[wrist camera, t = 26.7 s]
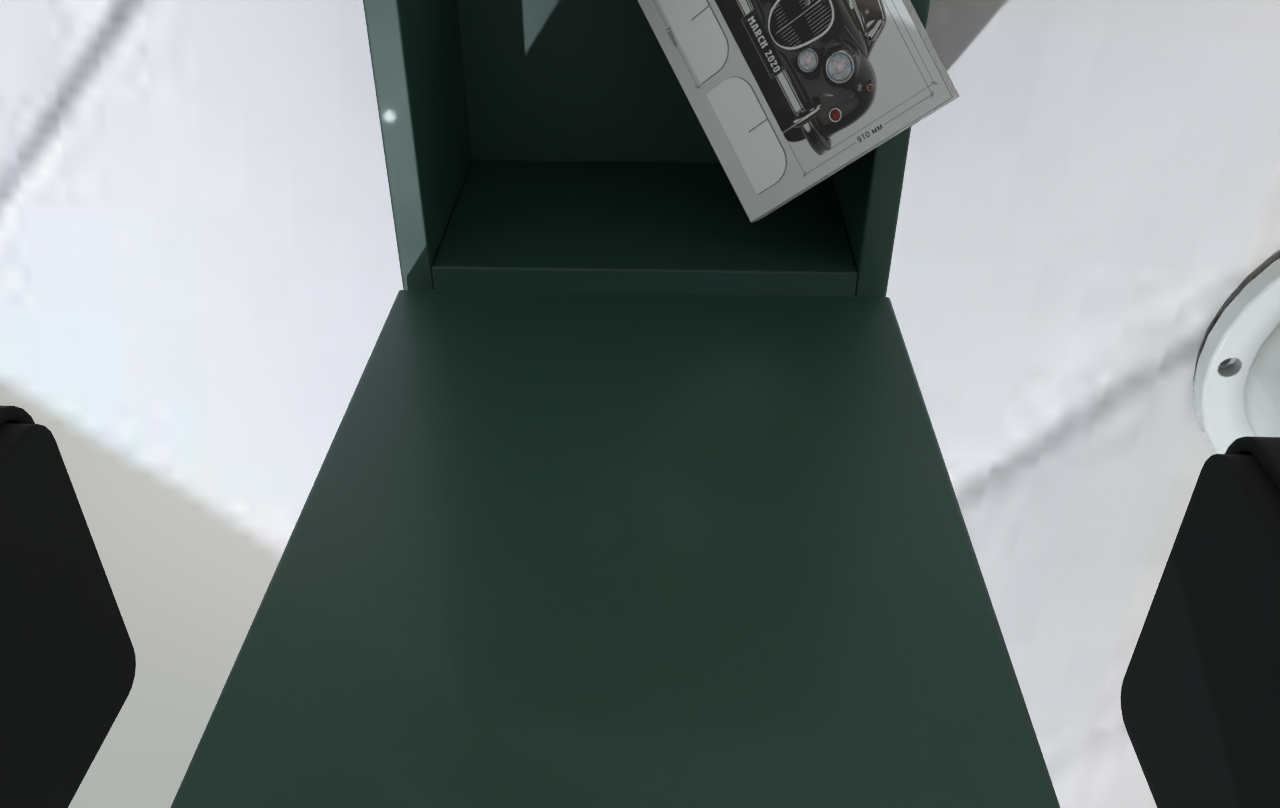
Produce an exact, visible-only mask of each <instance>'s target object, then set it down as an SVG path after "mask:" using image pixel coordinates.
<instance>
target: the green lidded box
mask: <svg viewBox="0 0 1280 808" xmlns="http://www.w3.org/2000/svg"><path fill="white" fill-rule="evenodd" d="M910 1H911V3H912V5H913V7H914V9H915V11H916V13H917V15H918V17H919V19H920V21H921V23H922V24H923V26H924V28H925V30H926V23H927V16H928V10H929V3H930V0H910ZM363 3H364V11H365V18H366V25H367V32H368V39H369V46H370V53H371V61H372V68H373V75H374V82H375V89H376V96H377V103H378V111H379V118H380V125H381V132H382V139H383V146H384V153H385V161H386V168H387V175H388V182H389V189H390V196H391V203H392V211H393V218H394V225H395V232H396V239H397V246H398V253H399V261H400V268H401V275H402V282H403V289H404V290H433V291H501V292H569V293H636V294H704V295H772V296H840V297H886V292H887V285H888V278H889V272H890V265H891V258H892V252H893V245H894V238H895V231H896V225H897V218H898V211H899V204H900V198H901V191H902V184H903V178H904V171H905V164H906V157H907V151H908V144H909V137H910V131H911V127H909V128H907V129H906V130H904V131H902V132H901V133H899V134H898V135H896V136H894V137H893V138H891V139H889V140H888V141H886V142H885V143H883V144H881V145H880V146H878V147H877V148H875V149H873V150H872V151H870V152H868V153H867V154H865V155H864V156H862V157H860V158H859V159H857V160H856V161H854V162H852V163H851V164H849V165H847V166H846V167H844V168H843V169H841V170H839V171H838V172H836V173H834V174H833V175H831V176H830V177H828V178H826V179H825V180H823V181H822V182H820V183H818V184H817V185H815V186H813V187H812V188H810V189H809V190H807V191H805V192H804V193H802V194H801V195H799V196H797V197H796V198H794V199H792V200H791V201H789V202H788V203H786V204H784V205H783V206H781V207H779V208H778V209H776V210H775V211H773V212H771V213H770V214H768V215H767V216H765V217H763V218H762V219H760V220H758V221H755V222H752V223H751V222H750V220H749V218H748V217H747V215H746V213H745V211H744V209H743V207H742V205H741V203H740V201H739V199H738V197H737V195H736V193H735V191H734V189H733V187H732V185H731V183H730V181H729V179H728V177H727V175H726V173H725V172H724V170H723V168H722V166H721V164H720V162H719V160H718V158H717V156H716V154H715V152H714V150H713V148H712V146H711V144H710V142H709V140H708V138H707V136H706V134H705V132H704V130H703V128H702V127H701V125H700V123H699V121H698V119H697V117H696V115H695V113H694V111H693V109H692V107H691V105H690V103H689V101H688V99H687V97H686V95H685V93H684V91H683V89H682V87H681V85H680V83H679V82H678V80H677V78H676V76H675V74H674V72H673V70H672V68H671V66H670V64H669V62H668V60H667V58H666V56H665V54H664V52H663V50H662V48H661V46H660V44H659V42H658V40H657V38H656V36H655V35H654V33H653V31H652V29H651V27H650V25H649V23H648V21H647V19H646V17H645V15H644V13H643V11H642V9H641V7H640V5H639V3H638V1H637V0H363Z"/></svg>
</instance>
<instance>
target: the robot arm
mask: <svg viewBox="0 0 1280 808" xmlns="http://www.w3.org/2000/svg"><path fill="white" fill-rule="evenodd" d="M1194 400H1195V410H1196V413H1197V416H1198V419H1199V421H1200V424H1201V427H1202V430H1203V431H1204V433H1205V434H1206V436H1207V437H1208V439H1209V441H1210V442H1211V444H1212V445H1213V447H1214V449H1215V450H1216V451H1217V453H1218V454H1216V455H1212V456H1211V457H1210V458H1209V459H1208V460H1206V462H1205V464H1204V466H1203V468H1202V470H1201V473H1200V475H1199V478H1198V481H1197V483H1196V486H1195V489H1194V491H1193V494H1192V497H1191V499H1190V502H1189V505H1188V507H1187V510H1186V513H1185V516H1184V518H1183V521H1182V524H1181V526H1180V529H1179V532H1178V534H1177V537H1176V540H1175V542H1174V545H1173V548H1172V551H1171V553H1170V556H1169V559H1168V561H1167V564H1166V567H1165V569H1164V572H1163V575H1162V577H1161V580H1160V583H1159V586H1158V588H1157V591H1156V594H1155V596H1154V599H1153V602H1152V604H1151V607H1150V610H1149V612H1148V615H1147V618H1146V620H1145V623H1144V626H1143V629H1142V631H1141V634H1140V637H1139V639H1138V642H1137V645H1136V647H1135V650H1134V653H1133V655H1132V658H1131V661H1130V664H1129V666H1128V669H1127V672H1126V674H1125V677H1124V680H1123V684H1122V689H1121V710H1122V716H1123V721H1124V724H1125V727H1126V730H1127V732H1128V735H1129V737H1130V740H1131V742H1132V745H1133V747H1134V750H1135V752H1136V755H1137V757H1138V760H1139V762H1140V765H1141V768H1142V770H1143V773H1144V775H1145V778H1146V780H1147V783H1148V785H1149V788H1150V790H1151V793H1152V795H1153V798H1154V800H1155V803H1156V805H1157V808H1280V258H1279V259H1278V260H1276V261H1274V262H1273V263H1272V264H1271V265H1270V266H1268V267H1267V268H1266V269H1265V270H1264V271H1262V272H1261V273H1260V274H1259V275H1258V276H1257V277H1255V278H1254V279H1253V280H1252V281H1251V282H1249V283H1248V284H1247V285H1246V286H1245V287H1244V288H1243V290H1242V291H1241V292H1240V293H1239V294H1238V295H1237V296H1236V297H1235V299H1234V300H1233V301H1232V302H1231V303H1230V304H1229V305H1228V306H1227V307H1226V309H1225V310H1224V311H1223V313H1222V315H1221V316H1220V318H1219V319H1218V321H1217V322H1216V324H1215V326H1214V327H1213V329H1212V330H1211V332H1210V333H1209V335H1208V337H1207V340H1206V342H1205V345H1204V347H1203V350H1202V352H1201V354H1200V357H1199V359H1198V363H1197V369H1196V374H1195V380H1194ZM135 666H136V661H135V653H134V648H133V646H132V643H131V640H130V638H129V635H128V632H127V630H126V627H125V624H124V622H123V619H122V616H121V614H120V611H119V608H118V606H117V603H116V600H115V598H114V595H113V592H112V590H111V587H110V584H109V582H108V579H107V576H106V574H105V571H104V568H103V566H102V563H101V560H100V558H99V555H98V553H97V550H96V547H95V544H94V542H93V539H92V536H91V534H90V531H89V528H88V526H87V523H86V520H85V518H84V515H83V513H82V510H81V507H80V504H79V502H78V499H77V497H76V494H75V491H74V489H73V486H72V483H71V481H70V478H69V475H68V473H67V470H66V467H65V465H64V462H63V460H62V457H61V454H60V452H59V449H58V446H57V443H56V441H55V439H54V437H53V435H52V433H51V431H50V430H48V429H47V428H46V427H45V426H42V425H39V424H35V423H34V421H33V419H32V417H31V416H30V415H29V414H28V413H27V412H26V411H24V409H22V408H18V407H15V406H0V808H68V806H69V804H70V802H71V800H72V799H73V797H74V795H75V793H76V791H77V789H78V788H79V785H80V784H81V782H82V780H83V778H84V776H85V775H86V773H87V771H88V769H89V767H90V765H91V763H92V762H93V760H94V758H95V756H96V754H97V752H98V750H99V749H100V747H101V745H102V743H103V741H104V739H105V737H106V736H107V734H108V732H109V730H110V728H111V726H112V724H113V722H114V721H115V719H116V717H117V715H118V713H119V711H120V710H121V708H122V706H123V704H124V702H125V700H126V698H127V696H128V695H129V692H130V690H131V688H132V684H133V680H134V677H135V668H136V667H135Z"/></svg>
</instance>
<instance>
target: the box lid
mask: <svg viewBox="0 0 1280 808" xmlns="http://www.w3.org/2000/svg"><path fill="white" fill-rule="evenodd" d="M171 808H1060V806H1059V803H1058V800H1057V797H1056V794H1055V791H1054V788H1053V785H1052V782H1051V779H1050V776H1049V773H1048V770H1047V767H1046V764H1045V761H1044V758H1043V755H1042V752H1041V749H1040V746H1039V743H1038V740H1037V737H1036V734H1035V731H1034V728H1033V725H1032V722H1031V719H1030V716H1029V713H1028V710H1027V707H1026V704H1025V701H1024V698H1023V695H1022V692H1021V689H1020V686H1019V683H1018V680H1017V677H1016V674H1015V671H1014V668H1013V665H1012V662H1011V659H1010V656H1009V653H1008V650H1007V647H1006V644H1005V642H1004V639H1003V636H1002V633H1001V630H1000V627H999V624H998V621H997V618H996V615H995V612H994V609H993V606H992V603H991V600H990V597H989V594H988V591H987V588H986V585H985V582H984V579H983V576H982V573H981V570H980V567H979V564H978V561H977V558H976V555H975V552H974V549H973V546H972V543H971V540H970V537H969V534H968V531H967V528H966V525H965V522H964V519H963V516H962V513H961V510H960V507H959V504H958V501H957V498H956V495H955V492H954V489H953V486H952V483H951V480H950V477H949V474H948V471H947V468H946V465H945V462H944V459H943V457H942V454H941V451H940V448H939V445H938V442H937V439H936V436H935V433H934V430H933V427H932V424H931V421H930V418H929V415H928V412H927V409H926V406H925V403H924V400H923V397H922V394H921V391H920V388H919V385H918V382H917V379H916V376H915V373H914V370H913V367H912V364H911V361H910V358H909V355H908V352H907V349H906V346H905V343H904V340H903V337H902V334H901V331H900V328H899V325H898V322H897V319H896V316H895V313H894V310H893V307H892V304H891V301H890V298H888V297H840V296H772V295H704V294H636V293H569V292H501V291H433V290H400V291H399V293H398V295H397V297H396V299H395V302H394V304H393V306H392V308H391V311H390V313H389V315H388V317H387V320H386V322H385V324H384V326H383V329H382V331H381V333H380V336H379V338H378V340H377V342H376V345H375V347H374V349H373V351H372V354H371V356H370V358H369V360H368V363H367V365H366V367H365V369H364V372H363V374H362V376H361V378H360V381H359V383H358V385H357V388H356V390H355V392H354V394H353V397H352V399H351V401H350V403H349V406H348V408H347V410H346V412H345V415H344V417H343V419H342V421H341V424H340V426H339V428H338V430H337V433H336V435H335V437H334V440H333V442H332V444H331V446H330V449H329V451H328V453H327V455H326V458H325V460H324V462H323V464H322V467H321V469H320V471H319V473H318V476H317V478H316V480H315V482H314V485H313V487H312V489H311V492H310V494H309V496H308V498H307V501H306V503H305V505H304V507H303V510H302V512H301V514H300V516H299V519H298V521H297V523H296V525H295V528H294V530H293V532H292V534H291V537H290V539H289V541H288V544H287V546H286V548H285V550H284V553H283V555H282V557H281V559H280V562H279V564H278V566H277V568H276V571H275V573H274V575H273V578H272V580H271V582H270V584H269V587H268V589H267V591H266V593H265V596H264V598H263V600H262V602H261V605H260V607H259V609H258V611H257V614H256V616H255V618H254V620H253V623H252V625H251V627H250V629H249V632H248V634H247V636H246V639H245V641H244V643H243V645H242V647H241V650H240V652H239V654H238V657H237V659H236V661H235V663H234V666H233V668H232V670H231V672H230V675H229V677H228V679H227V682H226V684H225V686H224V688H223V690H222V693H221V695H220V697H219V699H218V702H217V704H216V706H215V709H214V711H213V713H212V715H211V718H210V720H209V722H208V725H207V727H206V729H205V731H204V734H203V736H202V738H201V740H200V742H199V745H198V747H197V749H196V751H195V754H194V756H193V758H192V761H191V763H190V765H189V767H188V770H187V772H186V774H185V776H184V779H183V781H182V783H181V785H180V788H179V790H178V792H177V795H176V797H175V799H174V801H173V804H172V806H171Z"/></svg>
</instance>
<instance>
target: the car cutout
mask: <svg viewBox="0 0 1280 808" xmlns="http://www.w3.org/2000/svg"><path fill="white" fill-rule="evenodd" d="M637 1H638V3H639V5H640V7H641V9H642V11H643V13H644V15H645V17H646V19H647V21H648V23H649V25H650V27H651V29H652V31H653V33H654V35H655V36H656V38H657V40H658V42H659V44H660V46H661V48H662V50H663V52H664V54H665V56H666V58H667V60H668V62H669V64H670V66H671V68H672V70H673V72H674V74H675V76H676V78H677V80H678V82H679V83H680V85H681V87H682V89H683V91H684V93H685V95H686V97H687V99H688V101H689V103H690V105H691V107H692V109H693V111H694V113H695V115H696V117H697V119H698V121H699V123H700V125H701V127H702V128H703V130H704V132H705V134H706V136H707V138H708V140H709V142H710V144H711V146H712V148H713V150H714V152H715V154H716V156H717V158H718V160H719V162H720V164H721V166H722V168H723V170H724V172H725V173H726V175H727V177H728V179H729V181H730V183H731V185H732V187H733V189H734V191H735V193H736V195H737V197H738V199H739V201H740V203H741V205H742V207H743V209H744V211H745V213H746V215H747V217H748V218H749V220H750V222H751V223H752V222H755V221H758V220H760V219H762V218H763V217H765V216H767V215H768V214H770V213H771V212H773V211H775V210H776V209H778V208H779V207H781V206H783V205H784V204H786V203H788V202H789V201H791V200H792V199H794V198H796V197H797V196H799V195H801V194H802V193H804V192H805V191H807V190H809V189H810V188H812V187H813V186H815V185H817V184H818V183H820V182H822V181H823V180H825V179H826V178H828V177H830V176H831V175H833V174H834V173H836V172H838V171H839V170H841V169H843V168H844V167H846V166H847V165H849V164H851V163H852V162H854V161H856V160H857V159H859V158H860V157H862V156H864V155H865V154H867V153H868V152H870V151H872V150H873V149H875V148H877V147H878V146H880V145H881V144H883V143H885V142H886V141H888V140H889V139H891V138H893V137H894V136H896V135H898V134H899V133H901V132H902V131H904V130H906V129H907V128H909V127H911V126H912V125H914V124H915V123H917V122H919V121H920V120H922V119H923V118H925V117H927V116H928V115H930V114H932V113H933V112H935V111H936V110H938V109H940V108H941V107H943V106H944V105H946V104H948V103H949V102H951V101H953V100H954V99H956V98H957V97H959V94H958V93H957V91H956V89H955V87H954V85H953V83H952V81H951V79H950V77H949V75H948V73H947V71H946V69H945V67H944V65H943V63H942V61H941V59H940V58H939V56H938V54H937V52H936V50H935V48H934V46H933V44H932V42H931V40H930V38H929V36H928V34H927V32H926V30H925V28H924V26H923V24H922V23H921V21H920V19H919V17H918V15H917V13H916V11H915V9H914V7H913V5H912V3H911V1H910V0H637Z"/></svg>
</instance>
